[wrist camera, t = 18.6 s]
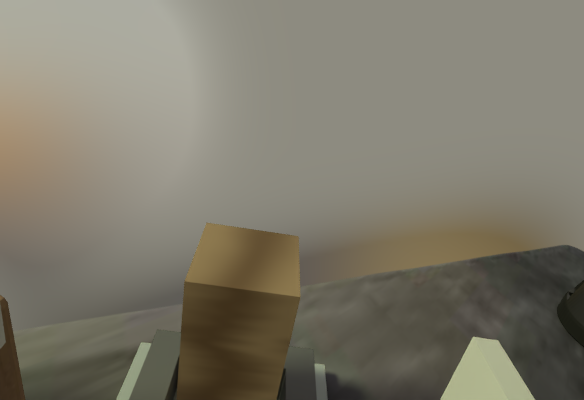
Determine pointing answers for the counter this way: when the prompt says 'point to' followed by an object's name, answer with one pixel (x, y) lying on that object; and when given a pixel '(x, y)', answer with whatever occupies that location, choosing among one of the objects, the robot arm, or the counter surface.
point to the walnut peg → (238, 314)
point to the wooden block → (9, 361)
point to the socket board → (165, 364)
